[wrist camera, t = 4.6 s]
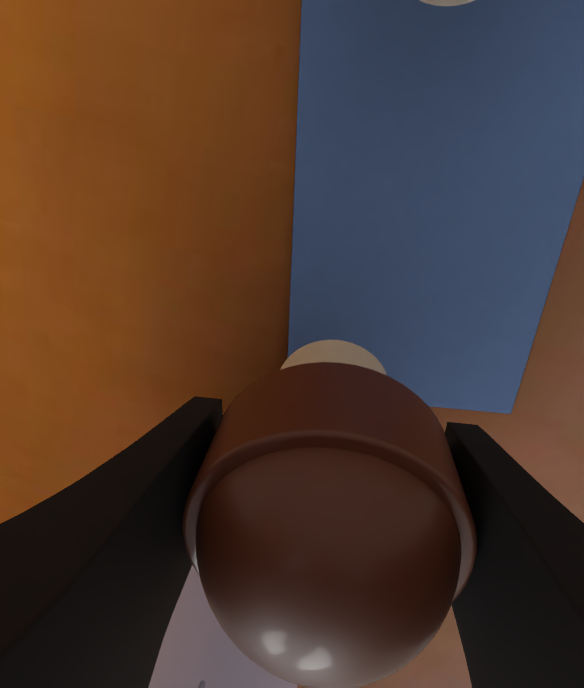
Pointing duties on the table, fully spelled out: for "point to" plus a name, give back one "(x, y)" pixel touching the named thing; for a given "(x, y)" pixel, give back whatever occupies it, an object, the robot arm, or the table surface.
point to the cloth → (435, 185)
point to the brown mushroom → (330, 521)
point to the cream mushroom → (446, 2)
